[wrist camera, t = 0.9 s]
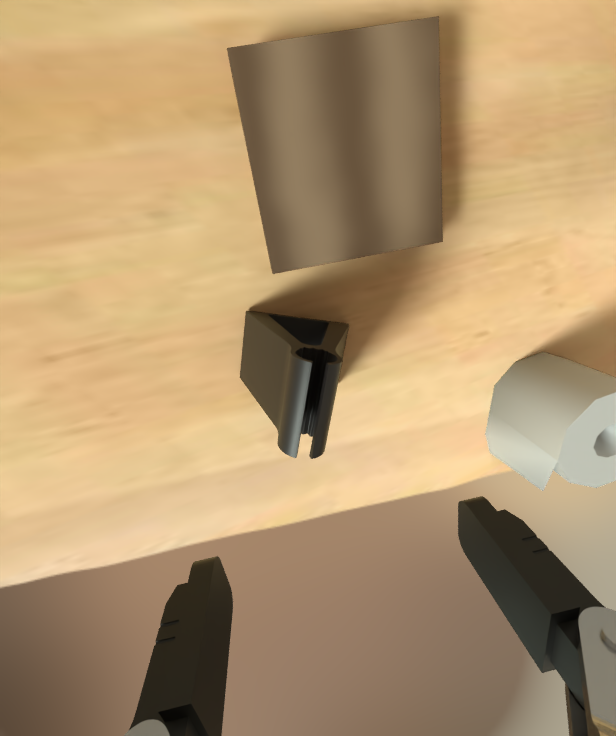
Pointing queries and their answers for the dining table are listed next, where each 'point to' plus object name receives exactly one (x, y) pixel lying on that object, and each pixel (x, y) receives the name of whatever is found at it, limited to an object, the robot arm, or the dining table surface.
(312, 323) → the phone stand
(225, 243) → the dining table surface
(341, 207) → the walnut block
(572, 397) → the toilet tissue
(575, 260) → the dining table surface
